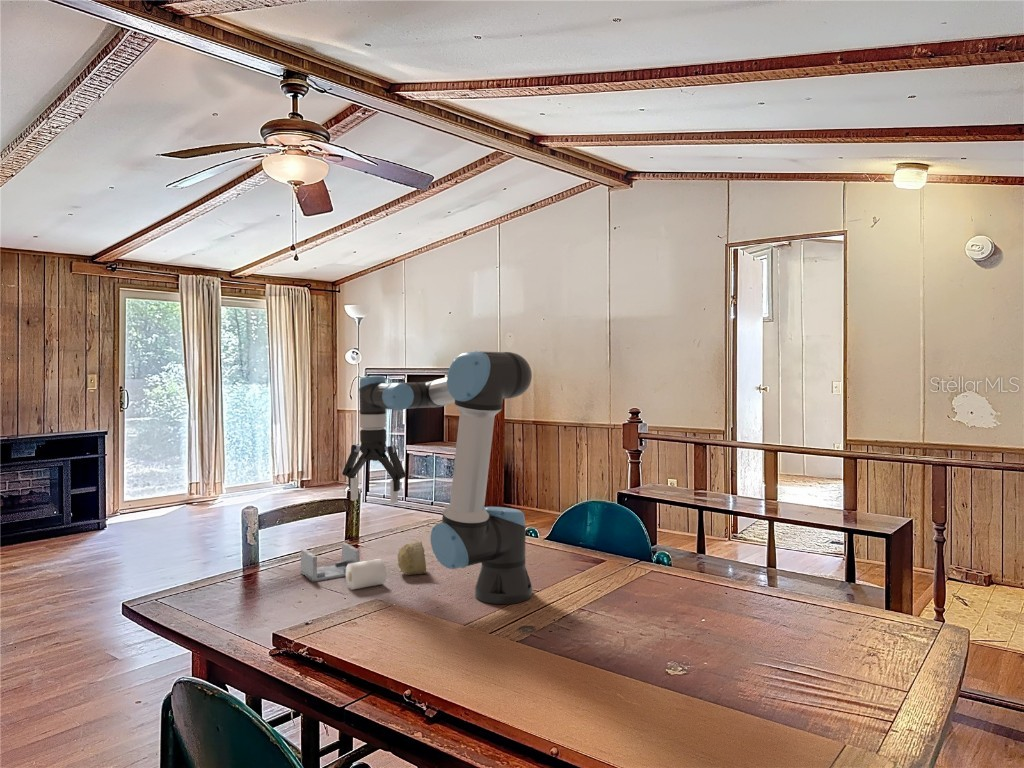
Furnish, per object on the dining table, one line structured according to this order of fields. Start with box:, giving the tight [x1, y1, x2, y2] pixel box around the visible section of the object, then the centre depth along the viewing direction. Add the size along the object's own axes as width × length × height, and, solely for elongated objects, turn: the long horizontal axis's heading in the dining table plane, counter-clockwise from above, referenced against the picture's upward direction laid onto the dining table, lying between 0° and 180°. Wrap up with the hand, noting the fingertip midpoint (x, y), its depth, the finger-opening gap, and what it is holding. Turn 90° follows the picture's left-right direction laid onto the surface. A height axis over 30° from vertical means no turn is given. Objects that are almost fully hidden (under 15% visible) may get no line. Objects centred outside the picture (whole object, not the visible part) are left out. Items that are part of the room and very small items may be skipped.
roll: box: [345, 558, 387, 591], centre depth 196 cm, size 9×7×7 cm
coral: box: [397, 540, 428, 576], centre depth 207 cm, size 10×10×10 cm
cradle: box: [300, 542, 360, 583], centre depth 208 cm, size 14×11×7 cm
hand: (374, 501), depth 207 cm, fingers open, 13 cm apart
